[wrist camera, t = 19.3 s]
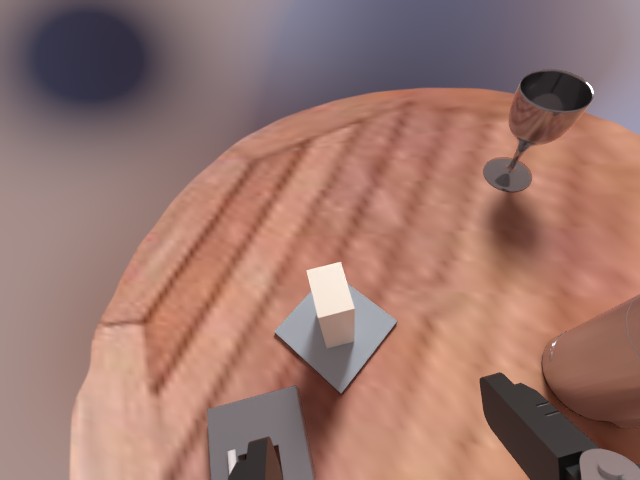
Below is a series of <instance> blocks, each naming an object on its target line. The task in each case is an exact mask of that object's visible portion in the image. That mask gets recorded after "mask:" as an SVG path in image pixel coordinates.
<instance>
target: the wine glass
mask: <svg viewBox="0 0 640 480" xmlns="http://www.w3.org/2000/svg"><path fill="white" fill-rule="evenodd" d="M592 99H593V90H592V88H591V86H590V85H589V84H588V82H587V81H585V80H584V79H583V78H581V77H579V76H577V75H575V74H573V73H570V72H567V71H563V70H557V69H543V70H537V71H533V72H531V73H529V74H527V75H526V76H525V77H524V78H523V79H522V81H521V83H520V85H519V87H518V89H517V91H516V93H515V96H514V98H513V101H512V105H511V108H510V114H509V127H510V130H511V132H512V134H513V136H514V137H515V139H516V140H517V149H516V152H515V155H514V157H513V158H508V157H498V158H494V159H492V160H490V161H489V162H487V163H486V165H485V166H484V169H483V174H484V177H485V179H486V180H487V181H488V182H489V183H490V184H491V185H492V186H494V187H495V188H497V189H500V190H503V191H508V192H517V191H521V190H524V189H525V188H527V187H528V186H529V185H530V184H531V181H532V174H531V171H530V170H529V168H528V167H527V166H526V165H525V164H523V163H522V162H520V161H518V160H519V159H520V157H521V156H522V155H523V154H524V153H525V151H526V150H528V149H529V148H531V147H533V146H538V145H543V144H547V143H550V142H552V141H554V140H556V139H558V138H559V137H561V136H562V135H563V134H564V133H565V132H566V131H568V130H569V129H570V128H571V127H572V126H573V125H574V124H575V123H576V122H577V120H578V119H579V118H580V116H581V115H582V114H583V113H584V111H585V110H586V108H587V107H588V106H589V104H590V103H591V101H592Z"/></svg>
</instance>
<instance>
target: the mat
mask: <svg viewBox="0 0 640 480" xmlns="http://www.w3.org/2000/svg"><path fill="white" fill-rule="evenodd" d="M347 284H348V283H347ZM348 288H349V291H350V294H351V298H352V301H353V304H354V308H355V338H354V342H351V343H347V344H343V345H339V346H335V347H332V348H328V349H327V348H326V344H325V341H324V337H323V334H322V330H321V327H320V323H319V320H318V316H317V312H316V308H315V304H314V299H313V295H312V291H311V292H310V293H309V294H308V295H307V297H306V298H305V299H304V300H303V301H302V302H301V303H300V304H299V305H298V306H297V307H296V308H295V310H294V311H293V312H292V313H291V314H290V315H289V316H288V317H287V318H286V319H285V320H284V321H283V323H282V324H281V325H280V326H279V327H278V328H277V329H276V330H275V331H274V332H275V333H276V334H277V335H278V336H279V337H280V338H281V339H282V340H283V341H284V342H286V343H287V344H288V345H289V346H290V347H291V348H292V349H293V350H294V351H295V352H296V353H297V354H298V355H300V356H301V357H302V358H303V359H304V360H305V361H306V362H307V363H308V364H309V365H310V366H311V367H313V368H314V369H315V370H316V371H317V372H318V373H319V374H320V375H321V376H322V377H323V378H324V379H325V380H327V381H328V382H329V383H330V384H331V385H332V386H333V387H334V388H335V389H336V390H337V391H338V392H340V393H341V394H342V393H343V391H344V390H345V389H346V387H347V386H348V385H349V383H350V382H351V381H352V380H353V378H354V377H355V376H356V374H357V373H358V372H359V371H360V369H361V368H362V367H363V365H364V364H365V363H366V361H367V360H368V359H369V358H370V356H371V355H372V354H373V352H374V351H375V350H376V349H377V347H378V346H379V345H380V343H381V342H382V341H383V340H384V338H385V337H386V336H387V334H388V333H389V332H390V330H391V329H392V328H393V327H394V325H395V324H396V323H397V320H395V319H394V318H393V317H391V316H390V315H389V314H387V313H386V312H385V311H384V310H382V309H381V308H380V307H378V306H377V305H376V304H374V303H373V302H372V301H370V300H369V299H368V298H366V297H365V296H364V295H362V294H361V293H360V292H358V291H357V290H356V289H354V288H353V287H352V286H350V285H349V284H348Z"/></svg>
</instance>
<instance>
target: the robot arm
mask: <svg viewBox="0 0 640 480" xmlns="http://www.w3.org/2000/svg"><path fill="white" fill-rule="evenodd" d="M542 366H543V372H544V375H545V378H546V381H547V383H548V385H549V387H550V388H551V390H552V391H553V393H554V394H555V395H556V396H557V398H558V399H559V400H560V401H561V402H562V403H563V404H564V405H566V406H567V407H568V408H570V409H571V410H573V411H574V412H575V413H577V414H579V415H582V416H584V417H586V418H589V419H593V420H597V421H608V422H611V423H613V424H615V425H616V426H618V427H619V428H633V427H640V294H639V295H638V296H636V297H634V298H632V299H630V300H628V301H626V302H624V303H622V304H620V305H618V306H616V307H614V308H612V309H610V310H608V311H606V312H604V313H602V314H601V315H599V316H597V317H595V318H593V319H591V320H589V321H587V322H585V323H583V324H581V325H579V326H577V327H575V328H573V329H571V330H569V331H566V332H564V333H562V334H561V335H559V336H558V337H556V338H554V339H553V340H552V341H550V342H549V344H548V345H547V346H546V348H545V350H544V353H543V358H542ZM480 388H481V396H482V403H483V411H484V415H485V418H486V420H487V422H488V424H489V426H490V428H491V429H492V431H493V432H494V433H495V435H496V436H497V437H498V439H499V440H500V441H501V442H502V444H503V445H504V446H505V448H506V449H507V450H508V451H509V453H510V454H511V455H512V457H513V458H514V459H515V460H516V462H517V463H518V464H519V466H520V467H521V468H522V469H523V471H524V472H525V473H526V475H527V476H528V477H529V479H530V480H640V465H637V464H634V463H633V462H632V461H631V460H629V459H628V458H626V457H624V456H622V455H620V454H618V453H616V452H613V451H610V450H605V449H600V448H599V447H598V446H597V445H596V444H595V443H594V442H592V441H591V440H590V439H589V438H588V437H587V436H586V435H585V434H584V433H583V432H581V431H580V430H579V429H578V428H577V427H576V426H575V425H574V424H573V423H572V422H570V421H569V420H568V419H567V418H566V417H565V416H564V415H563V414H562V413H559V411H558V410H557V409H556V408H555V407H554V406H553V405H552V404H549V402H548V401H547V400H546V399H545V398H544V397H543V396H542V395H541V394H540V393H538V392H537V391H536V390H534V389H532V388H530V387H528V386H526V385H524V384H522V383H519V384H515V385H514V384H513V383H512V382H511V381H510V380H509V379H508V378H507V377H506V376H505V375H504V374H502V373H496V374H492V375H489V376H485V377H482V378H480ZM228 480H283V477H282V472H281V468H280V465H279V462H278V459H277V456H276V453H275V450H274V447H273V443H272V440H271V438H270V437H269V436H268V437H264V438H261V439H257V440H254V441H250V442H249V443H248V449H247V457H246V460H243V461H239V462H236V464H235V466H234V468H233V469H232V471H231V473H230V475H229V477H228Z"/></svg>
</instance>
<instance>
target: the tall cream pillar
mask: <svg viewBox="0 0 640 480" xmlns="http://www.w3.org/2000/svg"><path fill="white" fill-rule="evenodd" d="M307 274H308V278H309V283H310V287H311V291H312V295H313V299H314V304H315V308H316V312H317V316H318V320H319V323H320V327H321V330H322V334H323V337H324V341H325V344H326V348H327V349H328V348H332V347H335V346H339V345H343V344H347V343H351V342H354V338H355V308H354V304H353V301H352V298H351V294H350V291H349V288H348V284H347V281H346V278H345V275H344V271H343V268H342V265H341V262H338V263H334V264H330V265H326V266H322V267H318V268H314V269H310V270H307Z"/></svg>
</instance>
